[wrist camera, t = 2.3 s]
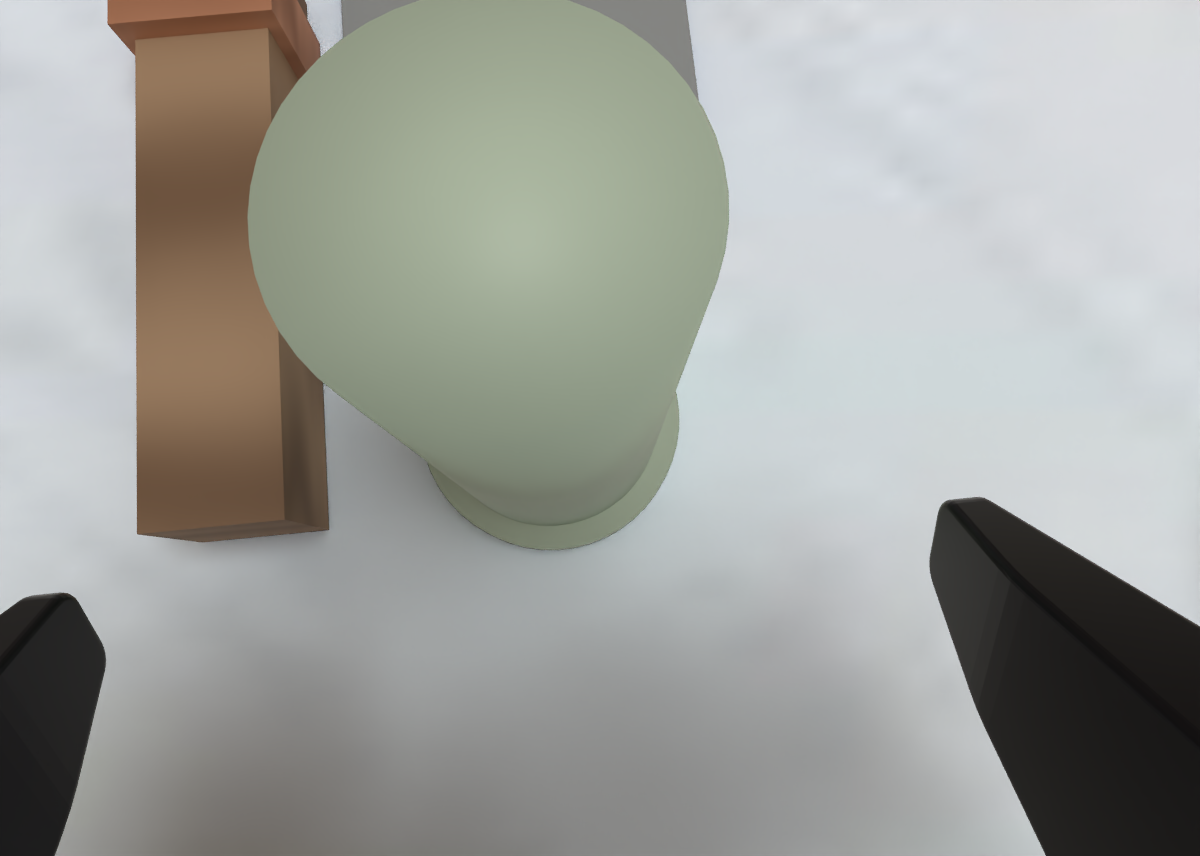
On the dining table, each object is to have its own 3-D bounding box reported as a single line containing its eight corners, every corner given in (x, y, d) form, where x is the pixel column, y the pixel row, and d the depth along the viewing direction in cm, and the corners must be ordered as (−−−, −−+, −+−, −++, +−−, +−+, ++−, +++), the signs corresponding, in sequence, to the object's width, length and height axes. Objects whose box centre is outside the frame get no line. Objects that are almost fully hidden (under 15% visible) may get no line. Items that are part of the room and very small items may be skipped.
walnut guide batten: (341, 528, 21) (289, 516, 17) (189, 543, 21) (106, 533, 17) (318, 3, 24) (268, -101, 20) (182, 15, 23) (108, -88, 20)
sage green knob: (536, 602, 21) (444, 620, 8) (378, 412, 22) (84, 174, 9) (726, 438, 21) (897, 233, 9) (566, 260, 22) (526, -148, 10)
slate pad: (709, 197, 23) (710, 192, 22) (356, 230, 22) (353, 225, 22) (669, -109, 24) (670, -118, 24) (340, -81, 24) (336, -89, 24)
